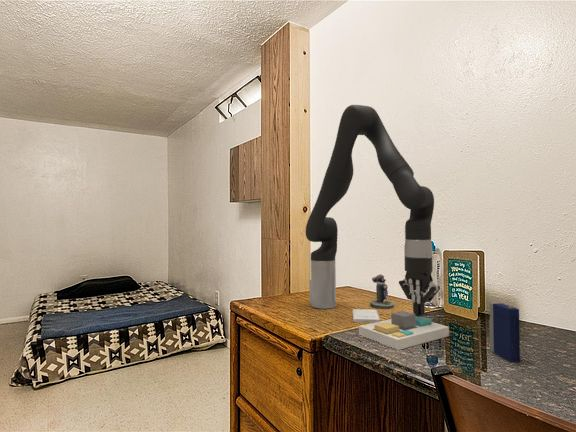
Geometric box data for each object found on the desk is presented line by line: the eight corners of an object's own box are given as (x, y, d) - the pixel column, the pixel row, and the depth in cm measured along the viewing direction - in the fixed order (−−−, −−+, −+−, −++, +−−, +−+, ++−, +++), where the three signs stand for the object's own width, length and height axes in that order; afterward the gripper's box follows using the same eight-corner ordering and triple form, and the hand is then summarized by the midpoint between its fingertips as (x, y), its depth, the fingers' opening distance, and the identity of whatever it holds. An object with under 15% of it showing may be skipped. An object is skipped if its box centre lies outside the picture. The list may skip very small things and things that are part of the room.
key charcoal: (391, 323, 100) (391, 313, 100) (402, 321, 103) (402, 310, 103) (404, 327, 97) (404, 316, 97) (415, 325, 99) (415, 314, 99)
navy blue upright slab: (520, 362, 80) (519, 307, 80) (510, 362, 80) (509, 308, 80) (498, 350, 88) (497, 300, 88) (489, 350, 87) (488, 301, 88)
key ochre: (374, 335, 97) (374, 324, 97) (386, 333, 99) (386, 322, 99) (387, 340, 93) (386, 328, 93) (399, 337, 95) (399, 326, 96)
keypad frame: (358, 335, 100) (358, 324, 100) (408, 323, 111) (407, 314, 111) (398, 350, 88) (397, 337, 88) (449, 336, 99) (448, 325, 99)
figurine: (371, 308, 130) (371, 275, 131) (369, 303, 139) (368, 272, 139) (395, 309, 130) (395, 275, 130) (391, 303, 138) (391, 272, 138)
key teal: (407, 328, 104) (407, 317, 104) (418, 325, 106) (417, 315, 106) (420, 332, 100) (420, 321, 100) (431, 329, 102) (431, 318, 102)
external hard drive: (376, 314, 125) (380, 324, 113) (352, 313, 126) (353, 323, 114) (376, 309, 125) (380, 319, 113) (352, 309, 126) (353, 318, 114)
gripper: (391, 254, 107) (391, 312, 107) (429, 258, 96) (430, 323, 96) (408, 252, 111) (409, 309, 111) (447, 256, 100) (447, 319, 100)
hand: (418, 315), depth 103 cm, fingers closed
